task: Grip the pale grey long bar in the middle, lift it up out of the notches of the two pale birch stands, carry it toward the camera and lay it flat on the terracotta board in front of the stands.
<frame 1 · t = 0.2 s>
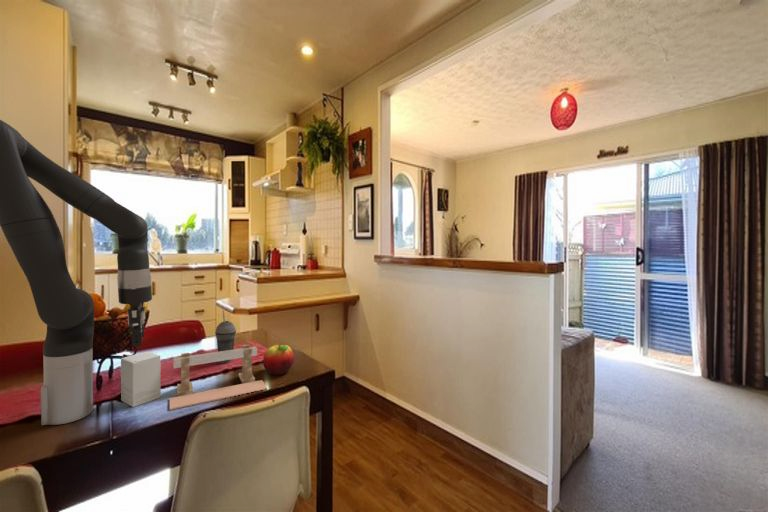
hand: (138, 341, 93), 18 cm above the table, tool pointing down, fingers open, 8 cm apart
beverage cup: (225, 361, 126), on the table
left stand: (185, 390, 102), on the table
right stand: (246, 378, 112), on the table
fruit: (278, 372, 119), on the table
pale grey long bar: (217, 360, 106), point 8 cm above the table, touching left stand, right stand
terracotta board: (220, 394, 100), on the table
supplement box: (141, 399, 96), on the table
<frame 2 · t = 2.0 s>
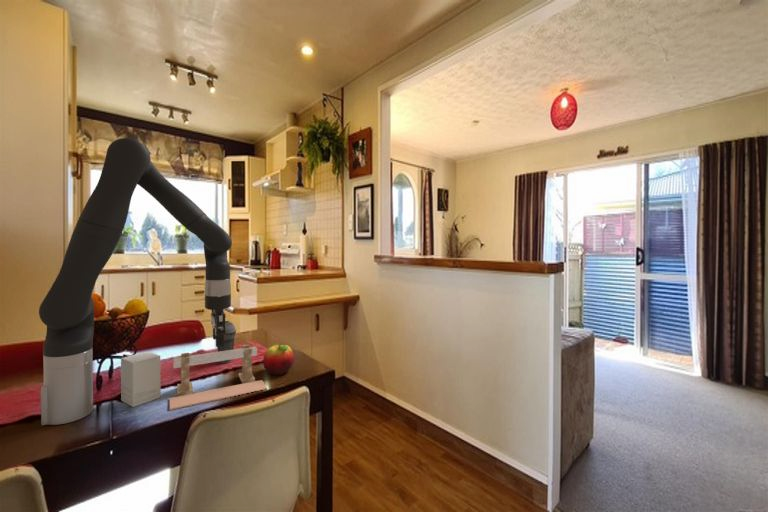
hand: (218, 342, 106), 14 cm above the table, tool pointing down, fingers open, 8 cm apart
nothing on the table moved.
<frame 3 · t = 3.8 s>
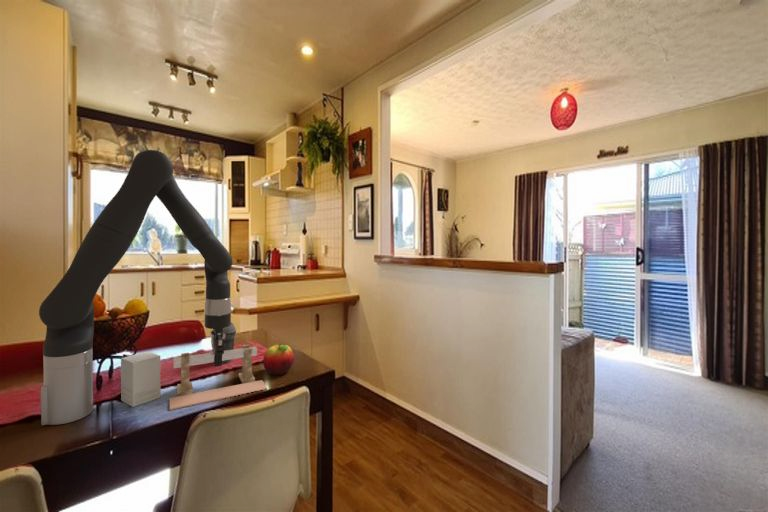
hand: (217, 364, 106), 7 cm above the table, tool pointing down, fingers closed on pale grey long bar, 2 cm apart
pale grey long bar: (217, 360, 106), point 8 cm above the table, touching gripper, left stand
everything else where it was.
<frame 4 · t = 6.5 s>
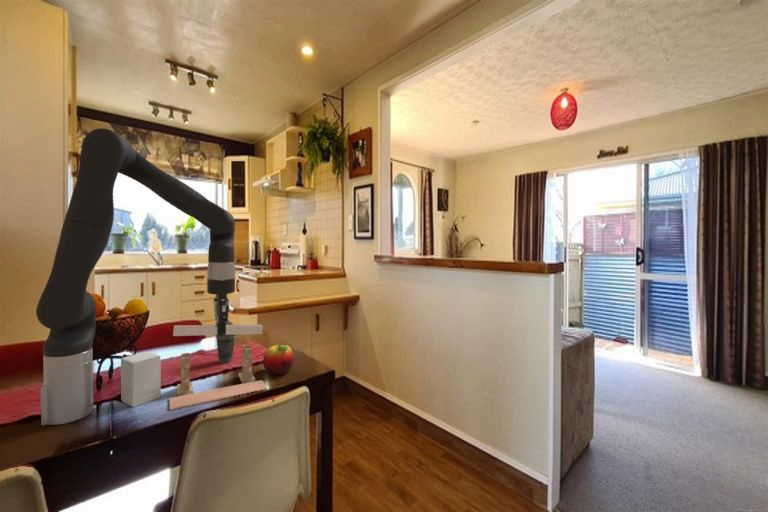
hand: (220, 333, 99), 19 cm above the table, tool pointing down, fingers closed on pale grey long bar, 2 cm apart
pale grey long bar: (220, 333, 99), point 19 cm above the table, tilted 6°, touching gripper
everything else where it was.
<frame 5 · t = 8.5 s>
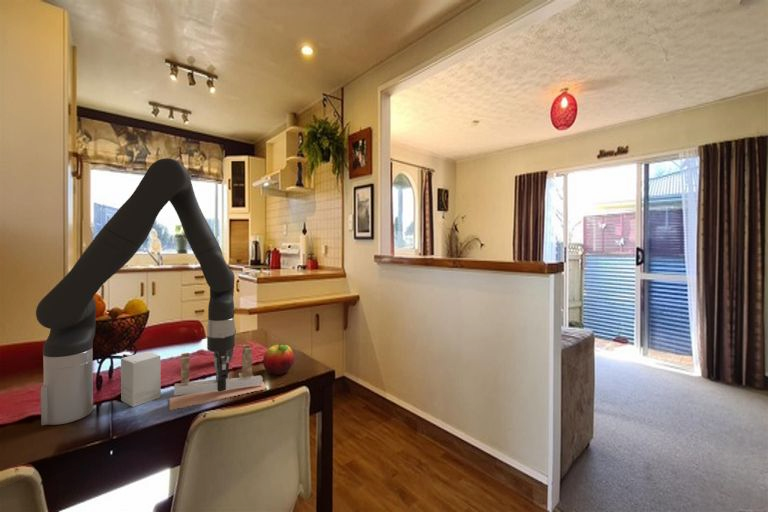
hand: (221, 388, 100), 2 cm above the table, tool pointing down, fingers closed on pale grey long bar, 2 cm apart
pale grey long bar: (220, 388, 100), point 2 cm above the table, tilted 6°, touching gripper
everything else where it was.
when the fingers open (1 cm above the table, at t = 9.3 s): pale grey long bar stays where it is, resting on terracotta board.
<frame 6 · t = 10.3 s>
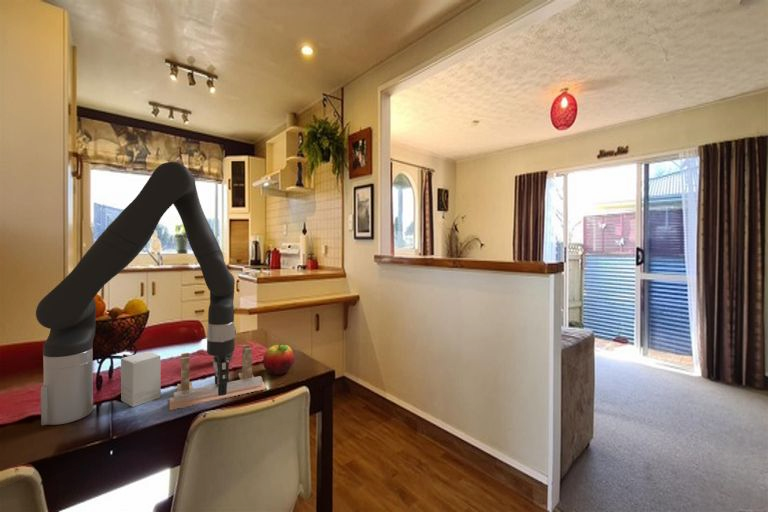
hand: (220, 389, 100), 2 cm above the table, tool pointing down, fingers open, 8 cm apart
pale grey long bar: (220, 392, 100), resting on terracotta board
everything else where it was.
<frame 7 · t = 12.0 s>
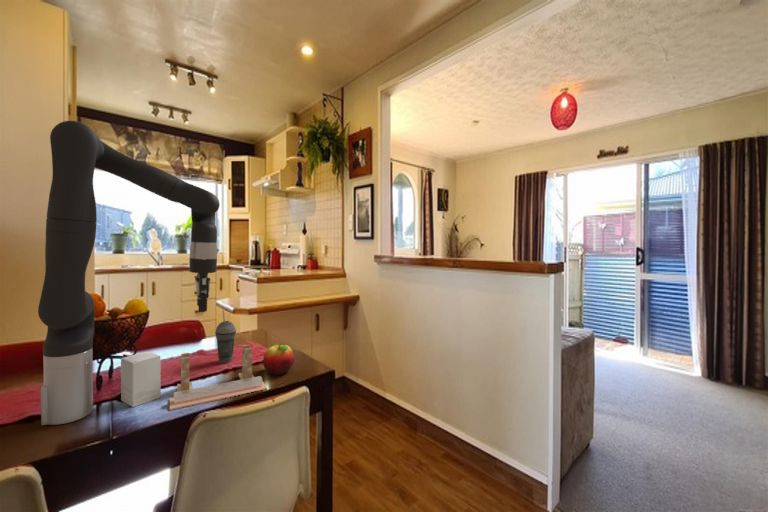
hand: (201, 308, 103), 25 cm above the table, tool pointing down, fingers open, 8 cm apart
nothing on the table moved.
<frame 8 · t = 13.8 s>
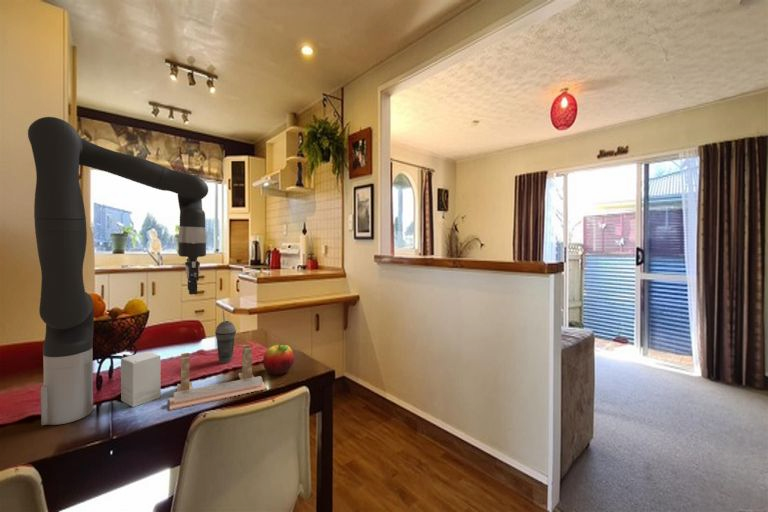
hand: (192, 292, 105), 30 cm above the table, tool pointing down, fingers open, 8 cm apart
nothing on the table moved.
at the end: pale grey long bar inside the target area (0.0 cm from its centre), point 0.5 cm above the table; pale grey long bar touching terracotta board; the gripper is holding nothing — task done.
